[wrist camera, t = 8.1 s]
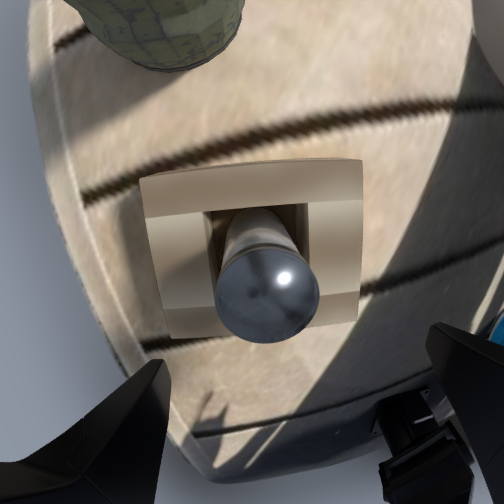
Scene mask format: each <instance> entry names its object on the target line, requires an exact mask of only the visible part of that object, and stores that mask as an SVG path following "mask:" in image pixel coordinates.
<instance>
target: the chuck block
mask: <svg viewBox="0 0 504 504" xmlns="http://www.w3.org/2000/svg"><path fill="white" fill-rule="evenodd" d="M139 182H140V189H141V196H142V203H143V209H144V216H145V222H146V227H147V233H148V239H149V244H150V250H151V255H152V260H153V265H154V270H155V274H156V279H157V284H158V288H159V292H160V297H161V301H162V305H163V309H164V314H165V318H166V322H167V325H168V329H169V333H170V337H171V339H177V338H199V337H216V336H231V335H234V334H233V333H232V332H230V331H229V330H228V329H227V328H226V327H225V326H224V324H223V323H222V322H221V320H220V318H219V316H218V314H217V311H216V306H215V292H216V286H217V280H218V276H219V273H218V265H217V258H216V250H215V242H214V234H213V226H212V217H211V211H216V210H226V209H236V208H247V207H259V206H271V205H283V204H295V209H296V231H297V250H298V252H299V253H300V255H301V256H302V257H303V258H304V259H305V260H306V262H307V263H308V265H309V266H310V268H311V270H312V272H313V273H314V275H315V277H316V279H317V282H318V285H319V292H320V298H319V304H318V308H317V311H316V313H315V315H314V317H313V319H312V320H311V321H310V323H309V324H308V325H307V326H306V327H305V328H310V327H317V326H325V325H332V324H338V323H345V322H352V321H357V316H358V305H359V294H360V281H361V264H362V242H363V165H362V160H356V159H347V158H309V159H288V160H272V161H258V162H246V163H235V164H225V165H215V166H206V167H198V168H190V169H182V170H175V171H168V172H161V173H157V174H153V175H150V176H147V177H143V178H140V179H139Z"/></svg>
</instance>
